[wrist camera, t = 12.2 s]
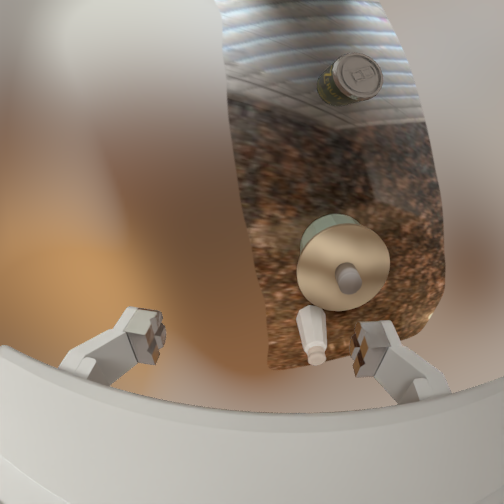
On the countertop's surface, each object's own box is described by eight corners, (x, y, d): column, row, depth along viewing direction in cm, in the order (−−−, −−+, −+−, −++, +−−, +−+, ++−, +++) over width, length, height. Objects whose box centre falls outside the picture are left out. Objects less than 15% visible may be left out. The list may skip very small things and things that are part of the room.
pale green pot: (303, 211, 40) (308, 228, 33) (372, 216, 39) (388, 233, 33) (296, 275, 45) (299, 300, 38) (359, 277, 44) (371, 302, 38)
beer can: (341, 66, 30) (369, 45, 19) (359, 99, 32) (393, 91, 21) (308, 79, 31) (324, 60, 20) (327, 112, 33) (350, 107, 22)
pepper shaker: (331, 312, 48) (341, 356, 38) (312, 331, 50) (318, 375, 40) (308, 299, 47) (315, 344, 37) (290, 319, 49) (292, 364, 39)
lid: (301, 219, 33) (304, 232, 30) (396, 227, 32) (408, 239, 29) (292, 305, 39) (293, 323, 35) (375, 307, 38) (382, 323, 35)
